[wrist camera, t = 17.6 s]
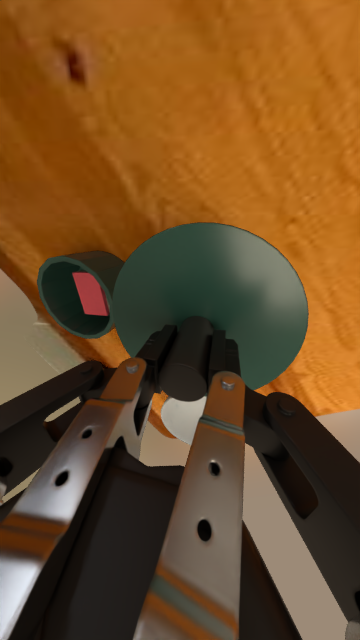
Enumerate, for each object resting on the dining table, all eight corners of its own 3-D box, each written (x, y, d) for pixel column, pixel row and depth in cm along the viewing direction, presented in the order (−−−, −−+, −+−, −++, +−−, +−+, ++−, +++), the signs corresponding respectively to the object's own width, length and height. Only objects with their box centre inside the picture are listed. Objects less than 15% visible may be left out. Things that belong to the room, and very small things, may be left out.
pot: (88, 234, 27) (45, 235, 21) (150, 282, 28) (128, 296, 22) (69, 292, 34) (32, 306, 27) (121, 329, 35) (97, 351, 28)
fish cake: (90, 267, 29) (71, 272, 26) (112, 268, 28) (96, 272, 25) (99, 305, 33) (84, 314, 29) (120, 306, 32) (107, 316, 28)
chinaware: (259, 396, 34) (267, 436, 27) (207, 421, 41) (203, 457, 34) (204, 348, 32) (198, 379, 25) (159, 383, 39) (145, 414, 32)
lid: (177, 166, 9) (112, 80, 4) (353, 316, 10) (482, 403, 5) (98, 327, 16) (35, 375, 11) (211, 406, 17) (204, 484, 12)
